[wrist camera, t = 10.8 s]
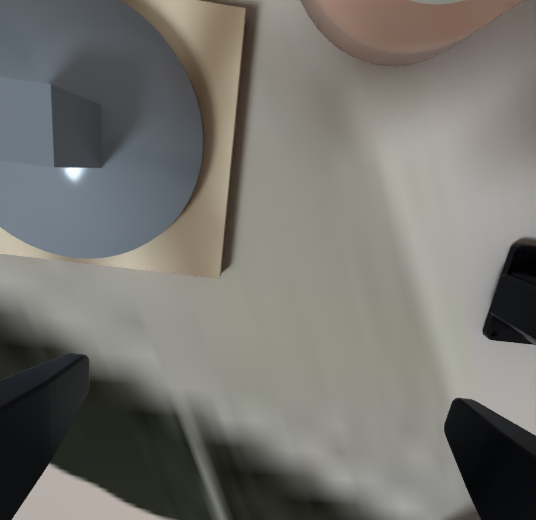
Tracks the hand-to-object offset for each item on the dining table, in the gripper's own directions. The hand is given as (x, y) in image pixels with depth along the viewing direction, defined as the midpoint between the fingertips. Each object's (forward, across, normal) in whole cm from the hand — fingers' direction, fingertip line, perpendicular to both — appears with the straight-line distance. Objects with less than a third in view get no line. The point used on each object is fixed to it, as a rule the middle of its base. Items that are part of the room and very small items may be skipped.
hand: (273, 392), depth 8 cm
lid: (+12, +11, -6) cm, 17 cm away
